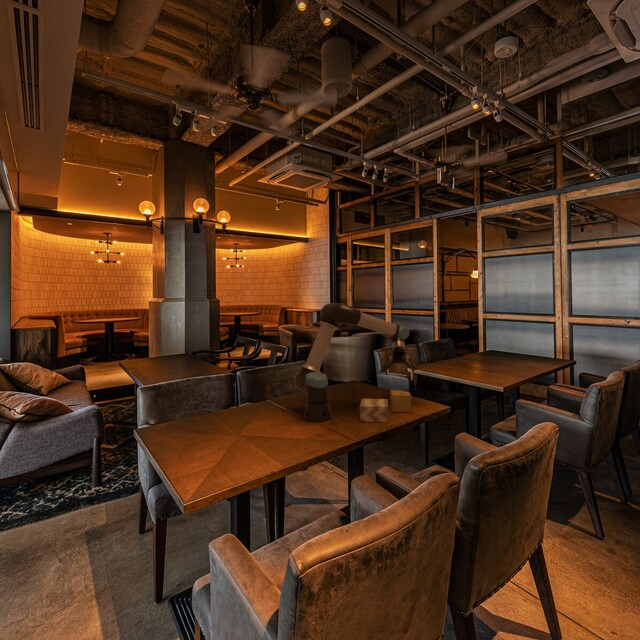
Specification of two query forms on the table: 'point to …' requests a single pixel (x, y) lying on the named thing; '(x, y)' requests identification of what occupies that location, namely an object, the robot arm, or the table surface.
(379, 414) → the chevron patterned block
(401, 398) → the cheese
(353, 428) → the table surface
